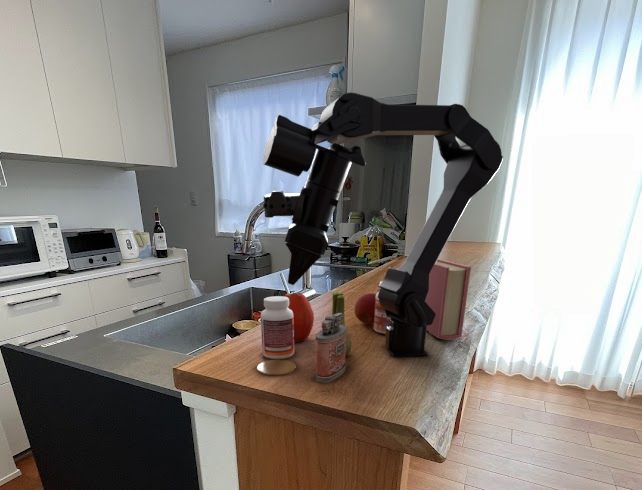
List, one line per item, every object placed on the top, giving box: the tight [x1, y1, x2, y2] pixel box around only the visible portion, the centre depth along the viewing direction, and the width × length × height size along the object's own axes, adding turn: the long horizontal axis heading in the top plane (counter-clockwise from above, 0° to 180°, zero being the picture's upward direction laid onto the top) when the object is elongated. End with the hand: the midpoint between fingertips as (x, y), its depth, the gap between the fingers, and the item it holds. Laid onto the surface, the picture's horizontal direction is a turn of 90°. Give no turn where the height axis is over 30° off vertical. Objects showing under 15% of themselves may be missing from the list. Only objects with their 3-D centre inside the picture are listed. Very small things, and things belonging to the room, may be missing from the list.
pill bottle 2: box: [373, 280, 392, 335], centre depth 85 cm, size 6×6×11 cm
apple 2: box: [354, 292, 378, 325], centre depth 92 cm, size 8×8×8 cm
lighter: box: [315, 313, 348, 383], centre depth 63 cm, size 8×3×10 cm, turn 148°
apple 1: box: [283, 290, 315, 343], centre depth 81 cm, size 8×8×11 cm
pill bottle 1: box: [260, 295, 295, 360], centre depth 72 cm, size 6×6×11 cm
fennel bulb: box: [331, 291, 352, 356], centre depth 71 cm, size 6×5×12 cm
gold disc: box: [256, 359, 297, 376], centre depth 67 cm, size 7×7×1 cm
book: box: [425, 258, 472, 341], centre depth 83 cm, size 14×15×5 cm
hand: (292, 275), depth 68 cm, fingers open, 9 cm apart
